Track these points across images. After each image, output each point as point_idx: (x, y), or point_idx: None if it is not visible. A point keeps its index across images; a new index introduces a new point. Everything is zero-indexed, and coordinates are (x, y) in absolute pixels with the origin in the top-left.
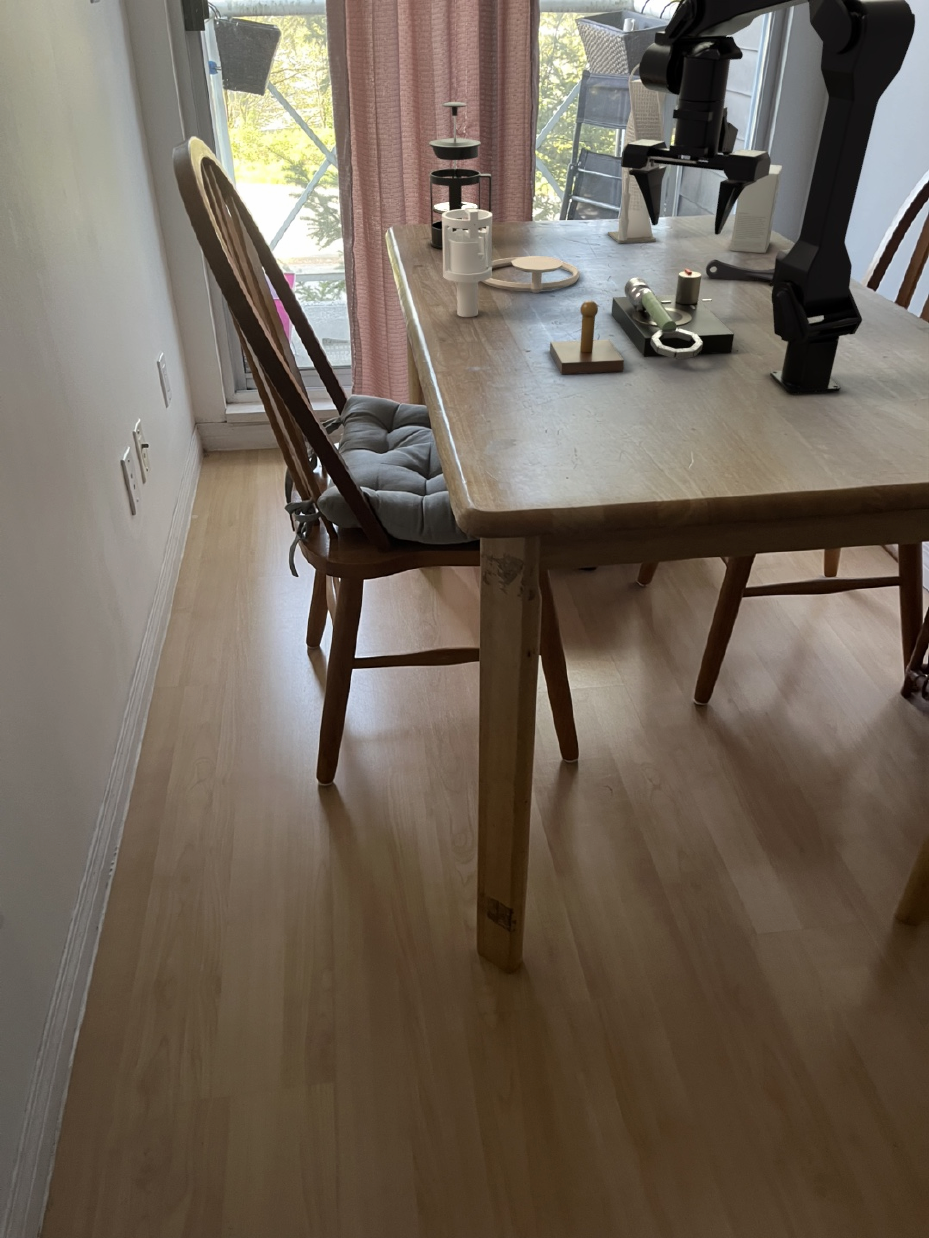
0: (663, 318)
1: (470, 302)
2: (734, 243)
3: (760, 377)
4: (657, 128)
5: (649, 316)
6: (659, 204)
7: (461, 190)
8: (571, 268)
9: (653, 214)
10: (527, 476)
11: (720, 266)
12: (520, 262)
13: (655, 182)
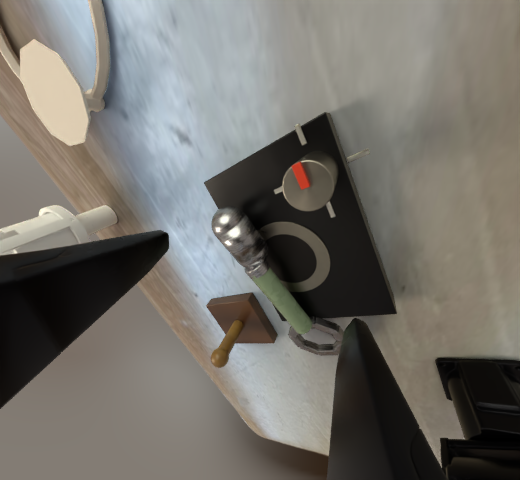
0: (292, 326)
1: (103, 228)
2: None
3: (421, 357)
4: None
5: (271, 263)
6: (116, 258)
7: None
8: None
9: (143, 275)
10: (265, 424)
11: None
12: (42, 109)
13: (22, 333)
